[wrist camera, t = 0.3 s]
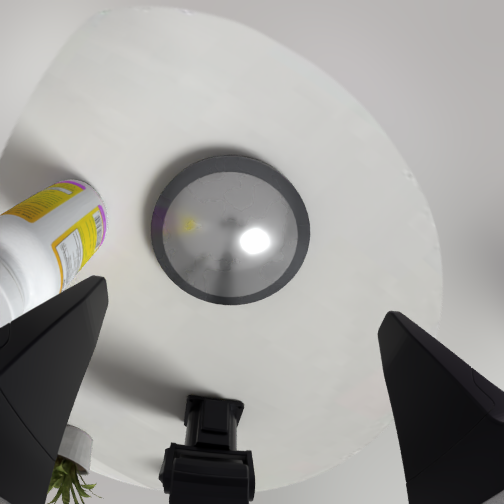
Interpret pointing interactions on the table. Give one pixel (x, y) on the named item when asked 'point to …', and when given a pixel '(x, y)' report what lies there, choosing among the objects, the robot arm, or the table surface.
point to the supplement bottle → (47, 244)
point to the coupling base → (230, 230)
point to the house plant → (72, 464)
